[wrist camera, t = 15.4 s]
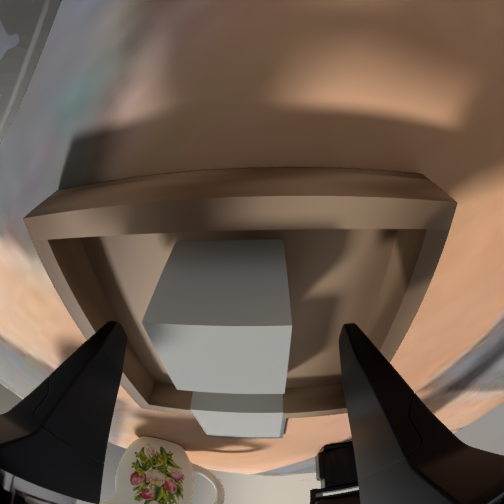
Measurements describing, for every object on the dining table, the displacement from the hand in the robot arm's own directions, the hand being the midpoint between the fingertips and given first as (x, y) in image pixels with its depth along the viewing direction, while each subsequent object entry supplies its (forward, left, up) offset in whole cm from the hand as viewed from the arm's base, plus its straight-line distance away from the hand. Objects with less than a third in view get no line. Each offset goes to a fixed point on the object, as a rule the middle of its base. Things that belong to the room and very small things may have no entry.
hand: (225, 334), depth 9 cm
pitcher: (+13, +33, -4) cm, 36 cm away
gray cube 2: (0, 0, -3) cm, 3 cm away
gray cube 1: (0, +6, -3) cm, 7 cm away
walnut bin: (0, +3, -3) cm, 4 cm away
